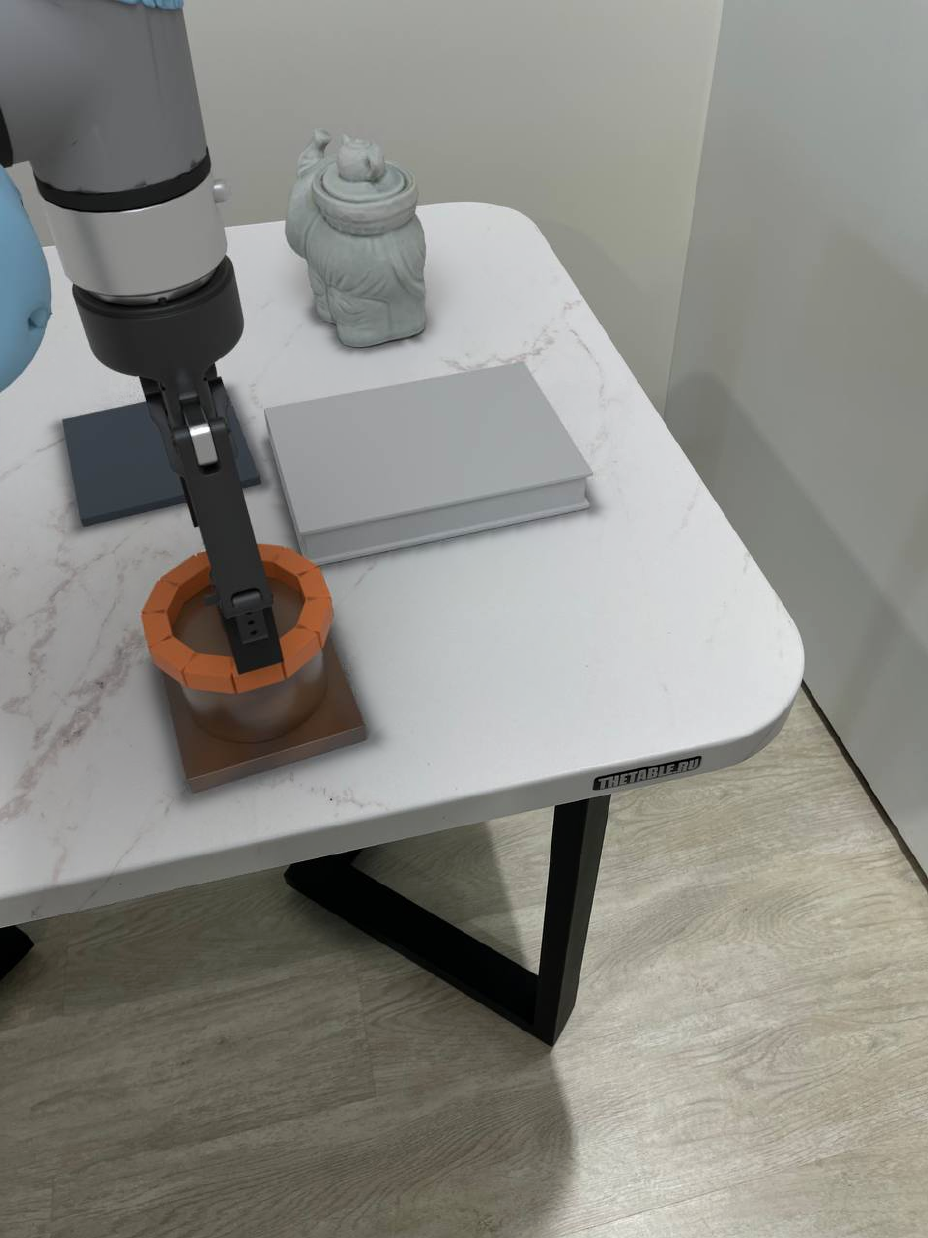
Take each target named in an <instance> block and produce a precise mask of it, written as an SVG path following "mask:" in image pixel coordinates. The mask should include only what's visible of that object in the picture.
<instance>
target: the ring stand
mask: <svg viewBox="0 0 928 1238" xmlns="http://www.w3.org/2000/svg"><path fill="white" fill-rule="evenodd" d="M208 577H209V581H210V584H209V585H208V586H207V587H205V588H204V589H202V590H201V591H200V592H198V593H197V594H196V595H194V596H193V597H191V598H190V599H189V600H187V601H186V602H185V603H184V604H183V606H182V608H181V610H180V613H179V615H178V617H177V619H176V621H175V623H174V625H173V627H172V629H173V633H174V637H175V638H176V639H178V640H179V641H180V642H182V643H183V644H185V645H186V646H188V647H189V648H190V649H192V650H193V651H195V652H196V653H201V654H210V655H219V656H228V657H233V655H232V651H231V648H230V644H229V641H228V637H227V634H226V630H225V627H224V623H223V620H222V616H221V613H220V609H219V606H218V605H216V606H212V607H209V608H207V606H206V602H205V599H204V596H206V595H210V594H213V593H215V592H214V588H213V586H216V584H215V580H214V577H213V574H212V570H211V569H210V570H209V574H208ZM266 579H267V582H268V586H269V588H270V589H272V591H273V595H274V598H273V600H274V603H273V606H272V610H273V614H274V619H275V623H276V627H277V632H278V636H279V639H280V638H281V637H283V636H284V635H285V634H286V633H288V632H289V631H290V630H291V629H293V628H294V627H295V626H296V625H297V622H298V620H299V617H300V614H301V611H302V609H303V606H304V602H303V600H302V597H301V595H300V593H299V592H297V591H296V590H294V589H292V588H291V587H289V586H288V585H286V584H284V583H283V582H281V581H280V580H278V579H276V578H267V577H266ZM159 670H160V675H161V678H162V679H161V680H162V684H163V687H164V691H165V695H166V701H167V706H168V709H169V713H170V718H171V721H172V726H173V729H174V730H173V731H174V735H175V739H176V743H177V748H178V752H179V757H180V760H181V764H182V769H183V774H184V778H185V781H186V785H187V787H188V790H189V792H190V794H195V793H199V792H201V791H205V790H208V789H211V788H214V787H218V786H221V785H225V784H227V783H230V782H234V781H237V780H240V779H243V778H247V777H251V776H253V775H256V774H259V773H263V772H266V771H269V770H273V769H276V768H278V767H282V766H285V765H288V764H291V763H294V762H298V761H302V760H305V759H308V758H311V757H315V756H318V755H321V754H324V753H327V752H331V751H334V750H337V749H340V748H343V747H346V746H350V745H353V744H356V743H359V742H363V741H365V740H368V731H367V725H366V722H365V720H364V717H363V715H362V713H361V710H360V707H359V705H358V702H357V699H356V697H355V695H354V693H353V690H352V688H351V684H350V682H349V679H348V677H347V675H346V672H345V670H344V667H343V664H342V662H341V659H340V657H339V654H338V651H337V650H336V647H335V644H334V642H333V639H332V637H331V634H330V632H329V631H328V634H327V637H326V640H325V643H324V646H323V648H320V652H319V653H317V654H316V655H315V656H314V657H313V658H311V659H310V660H309V661H308V662H307V663H305V664H304V665H303V666H302V667H301V668H300V669H298V670H297V671H296V672H295V673H294V674H292V675H291V676H290V677H289V678H286V677H285V676H284V681H280V682H277V683H273V684H270V685H266V686H263V687H259V688H256V689H253V690H249V691H246V692H242V693H239V694H238V693H237V689H236V691H235V693H234V694H231V693H222V692H214V691H205V690H197V689H189V687H188V686H187V687H185V686H183V685H182V684H181V683H179V682H178V681H177V680H175V679H174V678H173V677H171V676H170V675H168V674H167V673H166V672H164V671H163V670H162V669H160V668H159Z"/></svg>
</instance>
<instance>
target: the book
mask: <svg viewBox="0 0 928 1238" xmlns="http://www.w3.org/2000/svg"><path fill="white" fill-rule="evenodd" d="M263 414H264V421H265V425H266V428H267V429H266V430H267V434H268V439H269V444H270V446H271V450H272V454H273V458H274V461H275V464H276V468H277V472H278V475H279V478H280V482H281V485H282V489H283V492H284V496H285V501H286V503H287V507H288V510H289V514H290V517H291V520H292V525H293V528H294V531H295V535H296V538H297V542H298V545H299V549H300V553H301V556H303V557H304V558H306V559H308V560H309V561H311V562H313V563H314V564H316V565H317V566H319V567H320V566H323V565H327V564H333V563H336V562H343V561H347V560H352V559H355V558H356V559H357V558H361V557H365V556H369V555H375V554H379V553H380V554H381V553H384V552H389V551H393V550H398V549H403V548H408V547H413V546H417V545H422V544H426V543H432V542H435V541H441V540H446V539H450V538H454V537H459V536H465V535H469V534H473V533H479V532H483V531H487V530H491V529H497V528H503V527H507V526H511V525H516V524H521V523H526V522H530V521H535V520H539V519H544V518H548V517H549V518H550V517H555V516H557V515H562V514H568V513H571V512H576V511H582V510H587V509H589V508H590V502H589V500H588V499H587V497H586V496H585V491H586V480H587V478H589V477H592V476H593V475H594V472H593V471H592V469H591V467H590V465H589V463H588V461H586V459H585V457H584V456H583V454H582V452H581V451H580V450H579V447H578V446H577V445H576V443H575V441H574V440H573V438H572V437H571V434H570V433H569V432H568V430H567V429H566V427H565V425H564V424H563V422H562V420H561V419H560V417H559V416H558V413H557V412H556V411H555V409H554V408H553V406H552V405H551V403H550V401H549V400H548V398H547V396H546V394H544V392H543V390H542V388H541V386H540V385H539V384H538V382H537V381H536V379H535V377H534V376H533V374H532V372H531V370H530V369H529V368H528V366H527V364H526V363H525V361H518V362H513V363H507V364H503V365H497V366H491V367H485V368H480V369H474V370H468V371H464V372H458V373H452V374H447V375H441V376H436V377H431V378H425V379H424V378H423V379H419V380H414V381H408V382H402V383H398V384H392V385H387V386H381V387H376V388H375V387H374V388H370V389H364V390H359V391H354V392H348V393H342V394H337V395H331V396H325V397H320V398H314V399H309V400H304V401H303V400H302V401H297V402H293V403H287V404H286V403H285V404H282V405H276V406H271V407H266V408H264V409H263Z"/></svg>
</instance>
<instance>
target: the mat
mask: <svg viewBox="0 0 928 1238" xmlns="http://www.w3.org/2000/svg"><path fill="white" fill-rule="evenodd" d="M225 390H226V393H227V397H228V401H229V405H228V409H227V415H228V419H229V422H230V426H231V429H232V433H233V436H234V440H235V443H236V447H237V450H238V456H237V459H236V460H235V464H236V468H237V471H238V475H239V479H240V482H241V486H242V489H244V488H249V487H252V486H256V485H261V483H262V482H261V477H260V475H259V472H258V469H257V466H256V464H255V462H254V459H253V456H252V454H251V451H250V449H249V446H248V443H247V441H246V438H245V436H244V432H243V431H242V428H241V426H240V422H239V419H238V418H237V415H236V413H235V409H234V408H233V404H232V402H231V399H230V396H229V394H228V392H227V388H225ZM61 421H62V427H63V433H64V438H65V443H66V449H67V454H68V461H69V463H70V464H69V465H70V470H71V476H72V481H73V487H74V492H75V497H76V503H77V508H78V513H79V519H80V522H81V524H82V526H83V527H87V526H91V525H95V524H100V523H103V522H108V521H112V520H117V519H120V518H124V517H128V516H133V515H136V514H141V513H145V512H149V511H150V512H151V511H154V510H158V509H162V508H166V507H171V506H174V505H178V504H183V503H187V502H186V498H185V495H184V491H183V488H182V484H181V481H180V477H179V475H176V474H175V473H174V472H173V471H172V469H171V466H170V462H169V459H168V456H167V452H166V449H165V446H164V442H163V439H162V435H161V432H160V430H159V428H158V427H156V426H155V425H154V424H153V422H152V419H151V416H150V413H149V409H148V406H147V403H146V400H145V401H141V402H136V403H132V404H131V403H130V404H127V405H123V406H119V407H117V406H116V407H113V408H109V409H104V410H99V411H95V412H91V413H90V412H89V413H86V414H81V415H75V416H71V417H67V418H62V419H61Z"/></svg>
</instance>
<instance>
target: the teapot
mask: <svg viewBox="0 0 928 1238" xmlns="http://www.w3.org/2000/svg"><path fill="white" fill-rule="evenodd" d="M331 135H332V134H331V133H330V132H329V130H326V129H325V128H323V127H316V128H315V129H314V130H313V135H312V136H311V138H310V140H309V141H308V143H307V145H306V146H305V148H304V149H303V150H302V152H301V154H300V155H299V156H298V158H297V160H296V163H295V176H296V179H295V180H294V182H292V184H291V186H290V189H289V192H288V198H287V204H288V205H287V208H286V214H285V224H284V225H285V226H284V234H285V238H286V242H287V244H288V246H289V248H290V249H291V250H292V251H293V252H294V253H295V254H296V255H298V256H299V257H300V258H302V259H304V260H305V261H306V264H307V273H308V279H309V284H310V288H311V290H312V292H313V294H314V298H315V309H316V312H317V315H318V317H319V319H320V320H321V321H324V322H326V323H329V324H335V326H336V330H337V335H338V339H339V340H340V342H341V343H342V344H343V345H345V346H348V347H352V348H365V347H371V346H376V345H380V344H382V343H386V342H389V341H393V340H399V339H404V338H408V337H411V336H414V335H416V334H418V333H420V332H422V331H423V330H424V328H425V326H426V321H427V313H426V292H427V288H426V281H425V276H424V273H425V271H424V269H425V266H426V258H427V244H426V236H425V231H424V228H423V225H422V222H421V220H420V218H419V216H418V215H417V213H416V210H417V205H418V203H419V202H418V201H419V200H418V198H419V187H418V185H417V180H416V177H415V176H414V174H413V173H412V172H411V171H410V170H409V169H408V168H406V166H403V165H402V164H400V163H398V162H396V161H394V160H392V159H388V158H385V154H384V152H383V150H382V148H381V147H380V145H378V144H377V143H375V142H373V141H370V140H364V139H359V138H356V139H354V137H352V136H351V135H350V134H348V133H345V134H343V135H342V137H341V141H342V142H341V143H342V146H341V147H340V148H339V149H338V151H337V153H333V154H329V155H328V156H326V157H325V150H326V147H327V146H328V144H330V142H331V141H332V136H331Z"/></svg>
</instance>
